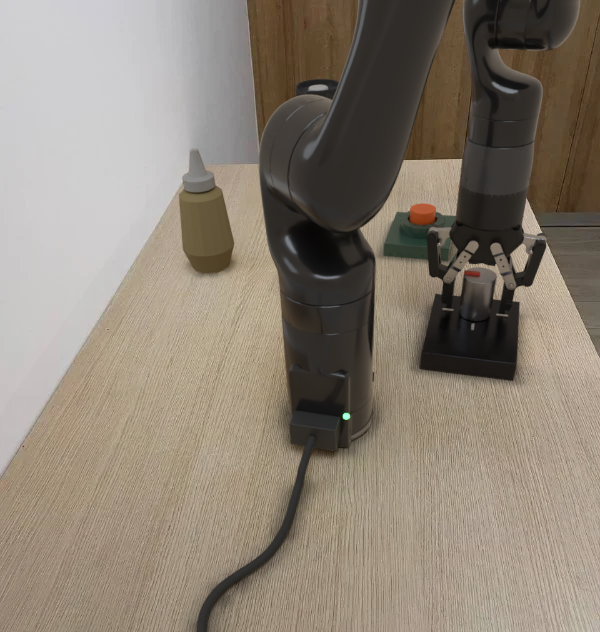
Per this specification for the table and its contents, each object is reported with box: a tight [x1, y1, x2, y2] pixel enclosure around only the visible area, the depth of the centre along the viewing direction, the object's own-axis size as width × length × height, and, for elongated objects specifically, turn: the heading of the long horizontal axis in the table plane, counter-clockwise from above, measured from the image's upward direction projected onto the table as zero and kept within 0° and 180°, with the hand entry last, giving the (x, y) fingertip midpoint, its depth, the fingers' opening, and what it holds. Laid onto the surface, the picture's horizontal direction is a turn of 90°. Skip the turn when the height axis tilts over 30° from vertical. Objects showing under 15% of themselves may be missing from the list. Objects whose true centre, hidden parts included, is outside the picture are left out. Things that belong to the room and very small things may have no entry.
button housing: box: [383, 210, 456, 262], centre depth 103 cm, size 12×10×4 cm
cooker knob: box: [459, 266, 498, 321], centre depth 81 cm, size 4×4×6 cm
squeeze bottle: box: [178, 148, 235, 274], centre depth 95 cm, size 8×8×18 cm
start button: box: [409, 202, 437, 225], centre depth 101 cm, size 4×4×2 cm
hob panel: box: [419, 293, 521, 382], centre depth 81 cm, size 14×11×3 cm
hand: (475, 307), depth 82 cm, fingers open, 6 cm apart
